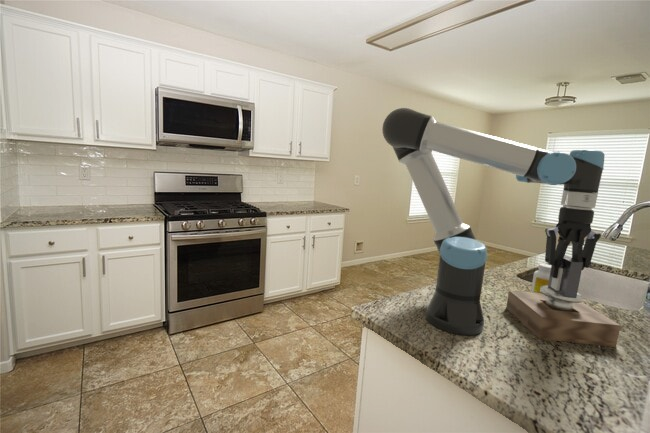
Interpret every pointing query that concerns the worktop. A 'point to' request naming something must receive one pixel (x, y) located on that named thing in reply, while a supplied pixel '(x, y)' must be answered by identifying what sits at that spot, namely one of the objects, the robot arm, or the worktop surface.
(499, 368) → the worktop surface
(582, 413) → the worktop surface
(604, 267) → the worktop surface
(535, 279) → the supplement bottle
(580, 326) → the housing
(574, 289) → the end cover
